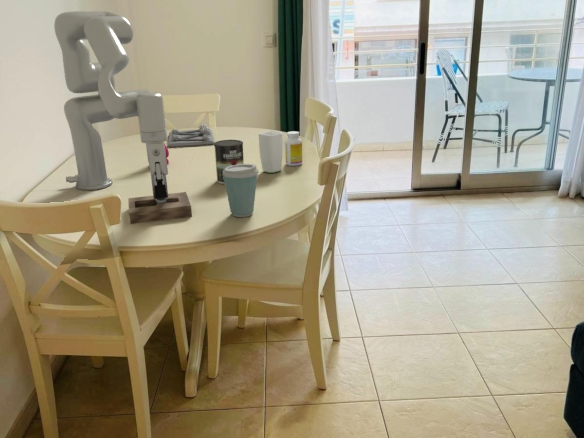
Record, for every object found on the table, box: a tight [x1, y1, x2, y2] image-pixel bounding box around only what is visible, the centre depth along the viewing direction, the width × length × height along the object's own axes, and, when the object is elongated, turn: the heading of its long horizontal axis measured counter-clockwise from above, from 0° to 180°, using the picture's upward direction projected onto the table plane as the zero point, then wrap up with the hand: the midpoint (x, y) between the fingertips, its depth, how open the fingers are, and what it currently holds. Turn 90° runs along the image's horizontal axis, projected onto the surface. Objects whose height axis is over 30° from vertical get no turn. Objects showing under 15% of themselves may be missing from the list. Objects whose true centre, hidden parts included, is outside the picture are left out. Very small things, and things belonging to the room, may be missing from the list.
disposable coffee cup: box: [222, 163, 260, 218], centre depth 161 cm, size 11×11×15 cm
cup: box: [258, 130, 284, 174], centre depth 204 cm, size 7×7×15 cm
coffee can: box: [213, 139, 245, 185], centre depth 195 cm, size 10×10×14 cm
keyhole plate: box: [128, 191, 193, 225], centre depth 166 cm, size 18×14×4 cm
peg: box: [150, 171, 169, 204], centre depth 165 cm, size 5×5×13 cm
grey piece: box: [167, 123, 216, 149], centre depth 262 cm, size 30×22×7 cm
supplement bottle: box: [284, 130, 303, 167], centre depth 214 cm, size 7×7×13 cm
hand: (160, 194), depth 165 cm, fingers closed on peg, 4 cm apart
